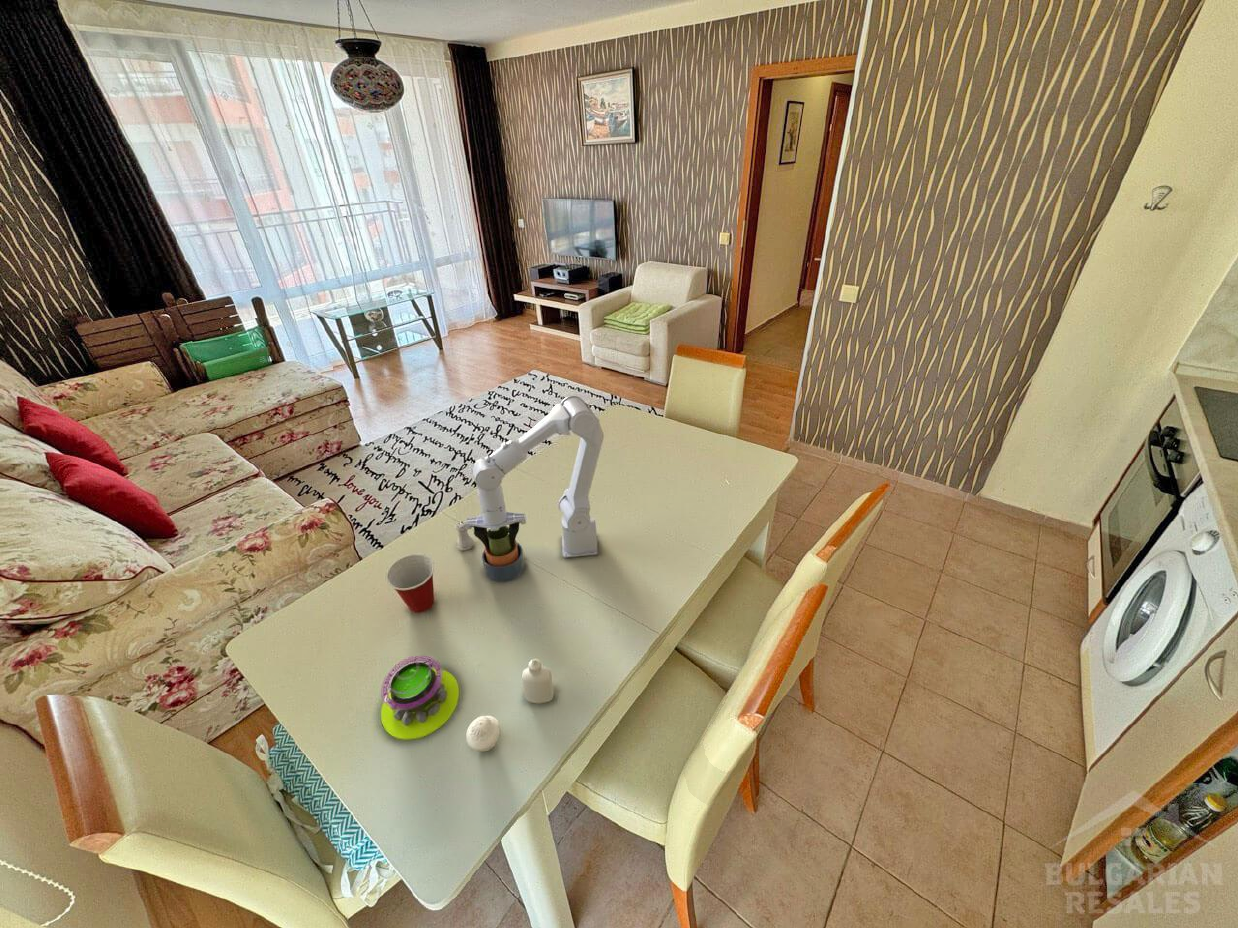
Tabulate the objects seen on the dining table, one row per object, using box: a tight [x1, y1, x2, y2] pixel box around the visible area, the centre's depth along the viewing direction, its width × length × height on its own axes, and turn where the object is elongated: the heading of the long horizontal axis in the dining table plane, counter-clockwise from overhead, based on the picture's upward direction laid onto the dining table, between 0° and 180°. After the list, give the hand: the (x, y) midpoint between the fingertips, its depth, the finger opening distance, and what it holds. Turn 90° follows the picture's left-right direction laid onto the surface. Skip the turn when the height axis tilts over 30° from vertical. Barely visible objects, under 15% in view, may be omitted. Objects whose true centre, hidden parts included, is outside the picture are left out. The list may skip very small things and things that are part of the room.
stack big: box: [481, 542, 526, 583], centre depth 129 cm, size 10×10×5 cm
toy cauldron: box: [380, 654, 460, 741], centre depth 96 cm, size 15×15×11 cm
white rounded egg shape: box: [465, 715, 501, 752], centre depth 90 cm, size 6×6×7 cm
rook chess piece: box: [454, 520, 475, 551], centre depth 135 cm, size 4×4×8 cm
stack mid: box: [484, 539, 519, 567], centre depth 128 cm, size 8×8×8 cm
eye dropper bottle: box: [521, 657, 555, 704], centre depth 96 cm, size 4×6×12 cm
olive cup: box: [487, 525, 513, 557], centre depth 125 cm, size 6×6×6 cm
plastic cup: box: [385, 552, 435, 614], centre depth 116 cm, size 11×11×12 cm
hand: (500, 545), depth 126 cm, fingers closed on olive cup, 6 cm apart
